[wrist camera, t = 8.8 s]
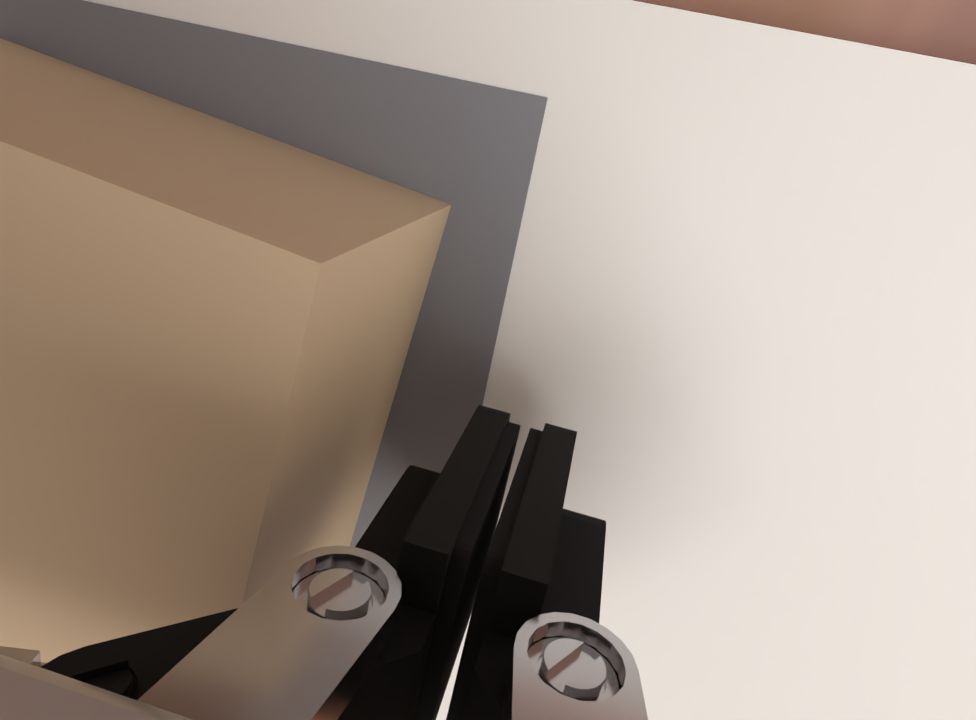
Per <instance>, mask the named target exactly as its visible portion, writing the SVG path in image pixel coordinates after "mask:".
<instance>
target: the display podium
mask: <svg viewBox="0 0 976 720" xmlns="http://www.w3.org/2000/svg"><path fill="white" fill-rule="evenodd" d="M0 38H1V39H4V40H7V41H9V42H12V43H15V44H18V45H20V46H23V47H26V48H28V49H31V50H34V51H37V52H39V53H42V54H45V55H47V56H50V57H53V58H56V59H58V60H61V61H64V62H66V63H69V64H72V65H74V66H77V67H80V68H83V69H85V70H88V71H91V72H93V73H96V74H99V75H102V76H104V77H107V78H110V79H112V80H115V81H118V82H121V83H123V84H126V85H129V86H131V87H134V88H137V89H139V90H142V91H145V92H148V93H150V94H153V95H156V96H158V97H161V98H164V99H167V100H169V101H172V102H175V103H177V104H180V105H183V106H185V107H188V108H191V109H194V110H196V111H199V112H202V113H204V114H207V115H210V116H213V117H215V118H218V119H221V120H223V121H226V122H229V123H232V124H234V125H237V126H240V127H242V128H245V129H248V130H250V131H253V132H256V133H259V134H261V135H264V136H267V137H269V138H272V139H275V140H278V141H280V142H283V143H286V144H288V145H291V146H294V147H297V148H299V149H302V150H305V151H307V152H310V153H313V154H315V155H318V156H321V157H324V158H326V159H329V160H332V161H334V162H337V163H340V164H343V165H345V166H348V167H351V168H353V169H356V170H359V171H361V172H364V173H367V174H370V175H372V176H375V177H378V178H380V179H383V180H386V181H389V182H391V183H394V184H397V185H399V186H402V187H405V188H408V189H410V190H413V191H416V192H418V193H421V194H424V195H426V196H429V197H432V198H435V199H437V200H440V201H443V202H445V203H448V204H451V208H450V211H449V215H448V218H447V221H446V225H445V228H444V231H443V235H442V238H441V241H440V245H439V248H438V251H437V255H436V258H435V262H434V265H433V268H432V272H431V275H430V278H429V282H428V285H427V288H426V292H425V295H424V298H423V302H422V305H421V308H420V312H419V315H418V319H417V322H416V325H415V329H414V332H413V335H412V339H411V342H410V345H409V349H408V352H407V355H406V359H405V362H404V365H403V369H402V372H401V376H400V379H399V382H398V386H397V389H396V392H395V396H394V399H393V402H392V406H391V409H390V412H389V416H388V419H387V423H386V426H385V429H384V433H383V436H382V439H381V443H380V446H379V449H378V453H377V456H376V459H375V463H374V466H373V469H372V473H371V476H370V480H369V483H368V486H367V490H366V493H365V496H364V500H363V503H362V506H361V510H360V513H359V516H358V520H357V523H356V526H355V530H354V533H353V537H352V540H351V543H350V547H355V546H356V545H357V543H358V542H359V540H360V539H361V537H362V535H363V534H364V532H365V531H366V529H367V528H368V526H369V525H370V523H371V522H372V520H373V519H374V517H375V516H376V514H377V513H378V511H379V510H380V508H381V507H382V505H383V504H384V502H385V501H386V499H387V498H388V496H389V495H390V493H391V492H392V490H393V489H394V487H395V486H396V484H397V483H398V481H399V480H400V478H401V477H402V475H403V474H404V472H405V471H406V469H407V468H408V467H409V466H410V465H414V466H417V467H421V468H424V469H428V470H431V471H435V472H438V473H441V471H442V470H443V468H444V466H445V464H446V462H447V461H448V459H449V457H450V455H451V453H452V452H453V450H454V448H455V446H456V444H457V443H458V441H459V439H460V437H461V435H462V434H463V432H464V430H465V428H466V426H467V425H468V423H469V421H470V419H471V417H472V416H473V414H474V412H475V410H476V408H477V407H478V405H482V406H485V407H489V408H493V409H496V410H500V411H504V412H507V413H510V421H509V422H511V423H515V424H518V425H520V431H519V435H518V439H517V444H516V448H515V452H514V456H513V460H512V464H511V468H510V472H509V477H508V481H507V485H506V489H505V493H504V497H503V501H502V506H501V510H500V514H499V518H500V515H501V512H502V509H503V506H504V503H505V500H506V497H507V495H508V492H509V489H510V486H511V483H512V480H513V477H514V474H515V471H516V468H517V465H518V463H519V460H520V457H521V454H522V451H523V448H524V445H525V442H526V439H527V436H528V433H529V431H530V428H533V429H537V430H540V431H543V429H544V426H545V423H548V424H551V425H555V426H559V427H562V428H566V429H570V430H573V431H577V436H576V441H575V446H574V452H573V457H572V462H571V468H570V473H569V478H568V484H567V489H566V494H565V500H564V505H563V508H564V509H567V510H571V511H574V512H578V513H581V514H585V515H588V516H591V517H595V518H598V519H602V520H605V521H606V535H605V549H604V563H603V577H602V592H601V606H600V620H599V624H600V625H602V626H604V627H606V628H608V629H609V630H610V631H611V632H612V633H614V634H615V635H616V636H617V637H618V638H619V639H621V640H622V641H623V643H624V644H625V645H626V647H627V648H628V649H629V651H630V652H631V654H632V655H633V657H634V660H635V662H636V665H637V668H638V670H639V675H640V680H641V685H642V690H643V696H644V701H645V706H646V711H647V716H648V720H976V65H973V64H968V63H963V62H957V61H952V60H947V59H941V58H936V57H931V56H925V55H920V54H915V53H910V52H904V51H899V50H894V49H888V48H883V47H878V46H872V45H867V44H862V43H856V42H851V41H846V40H840V39H835V38H830V37H824V36H819V35H814V34H808V33H803V32H798V31H792V30H787V29H782V28H777V27H771V26H766V25H761V24H755V23H750V22H745V21H739V20H734V19H729V18H723V17H718V16H713V15H707V14H702V13H697V12H691V11H686V10H681V9H675V8H670V7H665V6H659V5H654V4H649V3H644V2H638V1H633V0H0ZM499 518H498V521H499ZM497 524H498V522H497ZM496 527H497V526H496ZM470 618H471V616H470ZM469 622H470V619H469ZM469 622H468V625H467V628H466V631H465V634H464V637H463V640H462V643H461V646H460V649H459V652H458V655H457V658H456V661H455V664H454V667H453V670H452V673H451V676H450V679H449V682H448V685H447V688H446V691H445V694H444V697H443V700H442V703H441V706H440V709H439V712H438V715H437V718H436V720H446V718H447V713H448V709H449V705H450V701H451V697H452V693H453V688H454V684H455V680H456V676H457V672H458V668H459V663H460V659H461V655H462V651H463V647H464V643H465V638H466V634H467V630H468V626H469Z"/></svg>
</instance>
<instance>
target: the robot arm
mask: <svg viewBox="0 0 976 720" xmlns="http://www.w3.org/2000/svg"><path fill="white" fill-rule="evenodd" d="M509 421H510V413H507V412H504V411H500V410H496V409H493V408H489V407H485V406H482V405H478V407H477V408H476V410H475V412H474V414H473V416H472V417H471V419H470V421H469V423H468V425H467V426H466V428H465V430H464V432H463V434H462V435H461V437H460V439H459V441H458V443H457V444H456V446H455V448H454V450H453V452H452V453H451V455H450V457H449V459H448V461H447V462H446V464H445V466H444V468H443V470H442V471H441V473H438V472H435V471H431V470H428V469H424V468H421V467H417V466H414V465H410V466H409V467H408V468H407V469H406V471H405V472H404V474H403V475H402V477H401V478H400V480H399V481H398V483H397V484H396V486H395V487H394V489H393V490H392V492H391V493H390V495H389V496H388V498H387V499H386V501H385V502H384V504H383V505H382V507H381V508H380V510H379V511H378V513H377V514H376V516H375V517H374V519H373V520H372V522H371V523H370V525H369V526H368V528H367V529H366V531H365V532H364V534H363V535H362V537H361V539H360V540H359V542H358V543H357V545H356V546H355V547H349V546H338V545H336V546H327V547H319V548H316V549H313V550H310V551H307V552H304V553H302V554H301V555H299V556H298V557H296V558H295V559H293V560H291V561H290V562H289V563H288V564H287V565H285V566H284V567H283V568H282V569H281V570H280V571H279V572H278V573H277V574H276V575H274V576H273V577H272V578H271V579H270V580H269V581H268V582H267V583H266V584H265V585H263V586H262V587H261V588H260V589H259V590H258V591H257V592H256V593H255V594H254V595H252V596H251V597H250V598H249V599H248V600H247V601H246V602H245V603H244V604H243V605H241V606H240V607H239V608H236V609H232V610H228V611H224V612H220V613H216V614H212V615H208V616H204V617H200V618H196V619H192V620H188V621H184V622H180V623H176V624H172V625H168V626H164V627H160V628H156V629H152V630H148V631H144V632H140V633H136V634H132V635H128V636H124V637H120V638H116V639H112V640H108V641H104V642H100V643H96V644H92V645H88V646H85V647H82V648H79V649H76V650H73V651H71V652H68V653H65V654H62V655H60V656H58V657H57V658H55V659H53V660H51V661H50V662H48V663H44V662H41V656H40V651H39V650H30V649H22V648H13V647H5V646H0V720H436V718H437V715H438V712H439V709H440V706H441V703H442V700H443V697H444V694H445V691H446V688H447V685H448V682H449V679H450V676H451V673H452V670H453V667H454V664H455V661H456V658H457V655H458V652H459V649H460V646H461V643H462V640H463V637H464V634H465V631H466V628H467V625H468V622H469V619H470V622H469V626H468V630H467V634H466V638H465V643H464V647H463V651H462V655H461V659H460V663H459V668H458V672H457V676H456V680H455V684H454V688H453V693H452V697H451V701H450V705H449V709H448V713H447V718H446V720H648V716H647V711H646V706H645V701H644V696H643V690H642V685H641V680H640V675H639V670H638V668H637V665H636V662H635V660H634V657H633V655H632V654H631V652H630V651H629V649H628V648H627V647H626V645H625V644H624V643H623V641H622V640H621V639H619V638H618V637H617V636H616V635H615V634H614V633H612V632H611V631H610V630H609V629H608V628H606V627H604V626H602V625H600V624H599V620H600V606H601V592H602V577H603V563H604V549H605V535H606V521H605V520H602V519H598V518H595V517H591V516H588V515H585V514H581V513H578V512H574V511H571V510H567V509H564V508H563V505H564V500H565V494H566V489H567V484H568V478H569V473H570V468H571V462H572V457H573V452H574V446H575V441H576V436H577V431H573V430H570V429H566V428H562V427H559V426H555V425H551V424H548V423H545V426H544V429H543V431H540V430H537V429H533V428H530V431H529V433H528V436H527V439H526V442H525V445H524V448H523V451H522V454H521V457H520V460H519V463H518V465H517V468H516V471H515V474H514V477H513V480H512V483H511V486H510V489H509V492H508V495H507V497H506V500H505V503H504V506H503V509H502V512H501V515H500V518H499V514H500V510H501V506H502V501H503V497H504V493H505V489H506V485H507V481H508V477H509V472H510V468H511V464H512V460H513V456H514V452H515V448H516V444H517V439H518V435H519V431H520V425H518V424H515V423H511V422H509ZM498 518H499V521H498ZM497 522H498V524H497ZM496 526H497V527H496ZM470 616H471V618H470Z"/></svg>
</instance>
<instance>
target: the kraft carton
mask: <svg viewBox="0 0 976 720" xmlns="http://www.w3.org/2000/svg"><path fill="white" fill-rule="evenodd" d="M450 208H451V204H448V203H445V202H443V201H440V200H437V199H435V198H432V197H429V196H426V195H424V194H421V193H418V192H416V191H413V190H410V189H408V188H405V187H402V186H399V185H397V184H394V183H391V182H389V181H386V180H383V179H380V178H378V177H375V176H372V175H370V174H367V173H364V172H361V171H359V170H356V169H353V168H351V167H348V166H345V165H343V164H340V163H337V162H334V161H332V160H329V159H326V158H324V157H321V156H318V155H315V154H313V153H310V152H307V151H305V150H302V149H299V148H297V147H294V146H291V145H288V144H286V143H283V142H280V141H278V140H275V139H272V138H269V137H267V136H264V135H261V134H259V133H256V132H253V131H250V130H248V129H245V128H242V127H240V126H237V125H234V124H232V123H229V122H226V121H223V120H221V119H218V118H215V117H213V116H210V115H207V114H204V113H202V112H199V111H196V110H194V109H191V108H188V107H185V106H183V105H180V104H177V103H175V102H172V101H169V100H167V99H164V98H161V97H158V96H156V95H153V94H150V93H148V92H145V91H142V90H139V89H137V88H134V87H131V86H129V85H126V84H123V83H121V82H118V81H115V80H112V79H110V78H107V77H104V76H102V75H99V74H96V73H93V72H91V71H88V70H85V69H83V68H80V67H77V66H74V65H72V64H69V63H66V62H64V61H61V60H58V59H56V58H53V57H50V56H47V55H45V54H42V53H39V52H37V51H34V50H31V49H28V48H26V47H23V46H20V45H18V44H15V43H12V42H9V41H7V40H4V39H1V38H0V646H5V647H13V648H22V649H30V650H39V651H40V656H41V662H44V663H48V662H50V661H51V660H53V659H55V658H57V657H58V656H60V655H62V654H65V653H68V652H71V651H73V650H76V649H79V648H82V647H85V646H88V645H92V644H96V643H100V642H104V641H108V640H112V639H116V638H120V637H124V636H128V635H132V634H136V633H140V632H144V631H148V630H152V629H156V628H160V627H164V626H168V625H172V624H176V623H180V622H184V621H188V620H192V619H196V618H200V617H204V616H208V615H212V614H216V613H220V612H224V611H228V610H232V609H236V608H239V607H240V606H241V605H243V604H244V603H245V602H246V601H247V600H248V599H249V598H250V597H251V596H252V595H254V594H255V593H256V592H257V591H258V590H259V589H260V588H261V587H262V586H263V585H265V584H266V583H267V582H268V581H269V580H270V579H271V578H272V577H273V576H274V575H276V574H277V573H278V572H279V571H280V570H281V569H282V568H283V567H284V566H285V565H287V564H288V563H289V562H290V561H291V560H293V559H295V558H296V557H298V556H299V555H301V554H302V553H304V552H307V551H310V550H313V549H316V548H319V547H327V546H336V545H338V546H349V547H350V543H351V540H352V537H353V533H354V530H355V526H356V523H357V520H358V516H359V513H360V510H361V506H362V503H363V500H364V496H365V493H366V490H367V486H368V483H369V480H370V476H371V473H372V469H373V466H374V463H375V459H376V456H377V453H378V449H379V446H380V443H381V439H382V436H383V433H384V429H385V426H386V423H387V419H388V416H389V412H390V409H391V406H392V402H393V399H394V396H395V392H396V389H397V386H398V382H399V379H400V376H401V372H402V369H403V365H404V362H405V359H406V355H407V352H408V349H409V345H410V342H411V339H412V335H413V332H414V329H415V325H416V322H417V319H418V315H419V312H420V308H421V305H422V302H423V298H424V295H425V292H426V288H427V285H428V282H429V278H430V275H431V272H432V268H433V265H434V262H435V258H436V255H437V251H438V248H439V245H440V241H441V238H442V235H443V231H444V228H445V225H446V221H447V218H448V215H449V211H450Z"/></svg>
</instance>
